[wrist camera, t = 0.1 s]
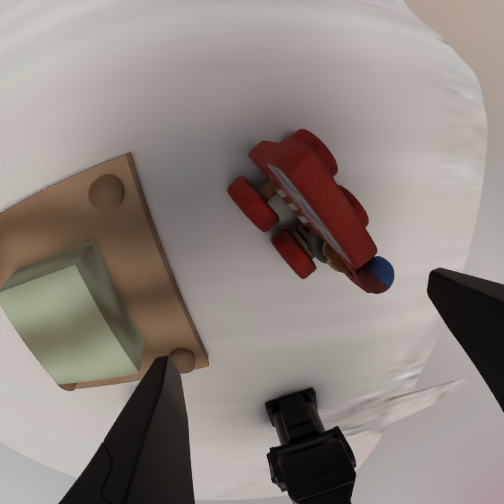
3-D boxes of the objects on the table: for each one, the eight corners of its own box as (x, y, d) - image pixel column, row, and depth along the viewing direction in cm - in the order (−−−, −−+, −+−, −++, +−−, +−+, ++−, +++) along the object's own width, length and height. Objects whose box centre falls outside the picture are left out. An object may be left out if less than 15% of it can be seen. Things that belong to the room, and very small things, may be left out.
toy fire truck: (303, 277, 26) (355, 358, 16) (209, 169, 20) (220, 210, 11) (362, 228, 25) (438, 288, 15) (283, 110, 19) (355, 104, 10)
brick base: (207, 355, 27) (212, 398, 22) (67, 380, 26) (57, 416, 21) (130, 152, 18) (108, 162, 13) (-24, 228, 17) (-57, 253, 12)
